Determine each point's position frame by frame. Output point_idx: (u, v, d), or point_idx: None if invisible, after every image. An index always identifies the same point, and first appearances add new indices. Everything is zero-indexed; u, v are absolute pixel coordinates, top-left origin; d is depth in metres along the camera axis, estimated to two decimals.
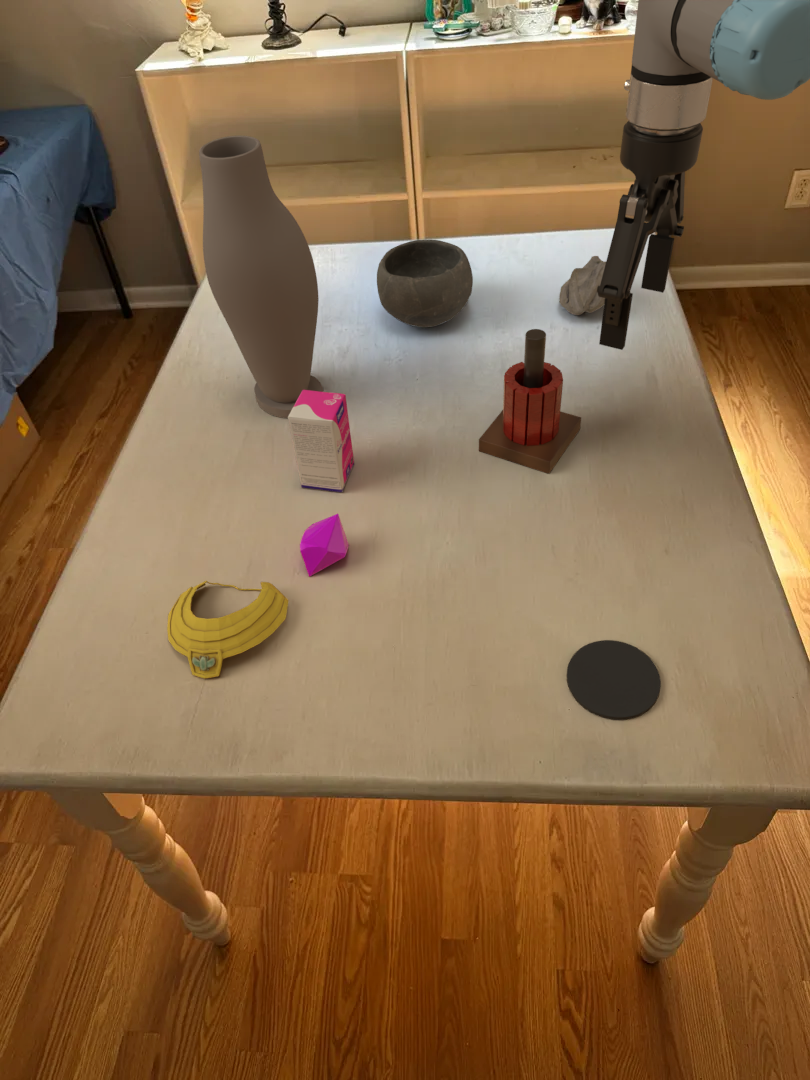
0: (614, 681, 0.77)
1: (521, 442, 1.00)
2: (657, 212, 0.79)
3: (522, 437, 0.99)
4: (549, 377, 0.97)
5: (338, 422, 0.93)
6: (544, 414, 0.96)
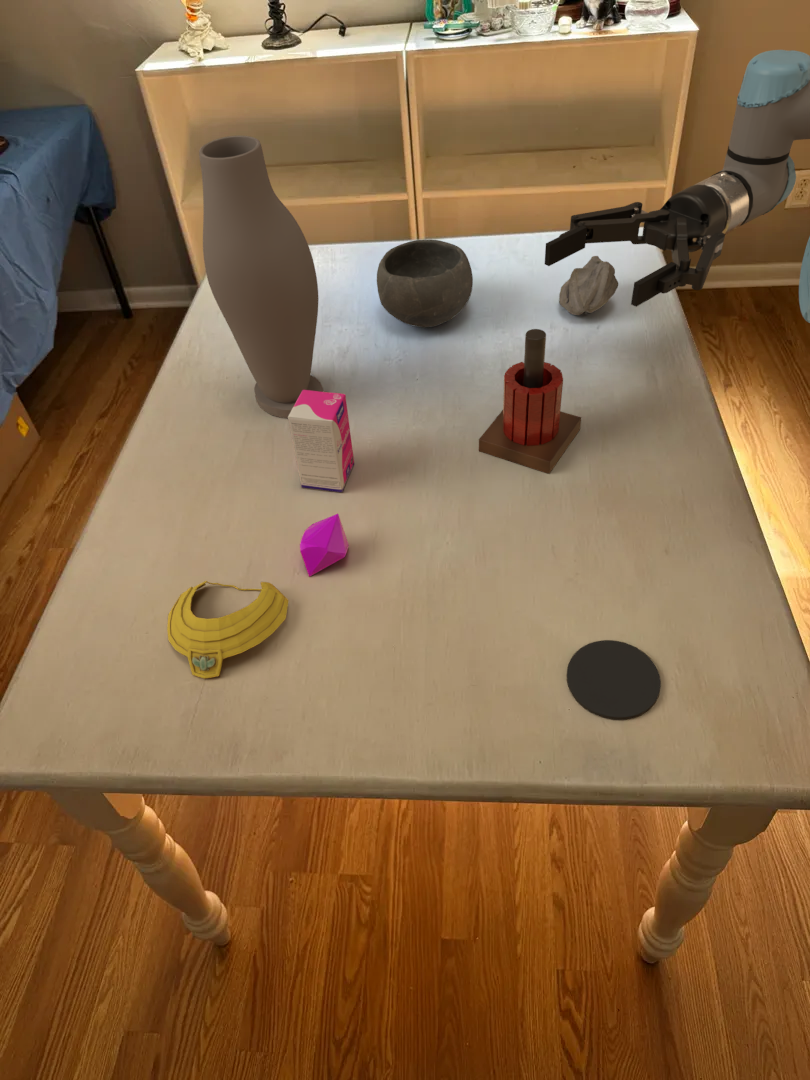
0: (614, 681, 0.77)
1: (521, 442, 1.00)
2: None
3: (522, 437, 0.99)
4: (549, 377, 0.97)
5: (338, 422, 0.93)
6: (544, 414, 0.96)
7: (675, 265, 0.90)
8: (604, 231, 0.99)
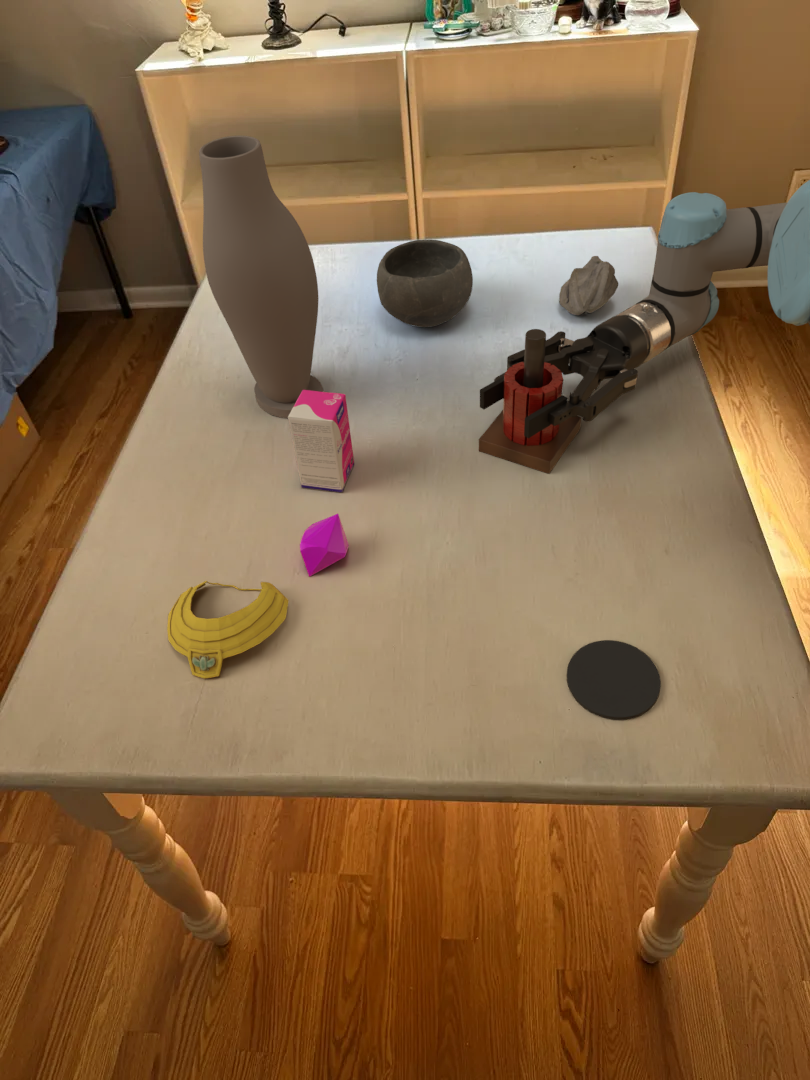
0: (614, 681, 0.77)
1: (521, 442, 1.00)
2: (600, 382, 1.02)
3: (522, 437, 0.99)
4: (549, 377, 0.97)
5: (338, 422, 0.93)
6: None
7: (566, 399, 0.96)
8: None
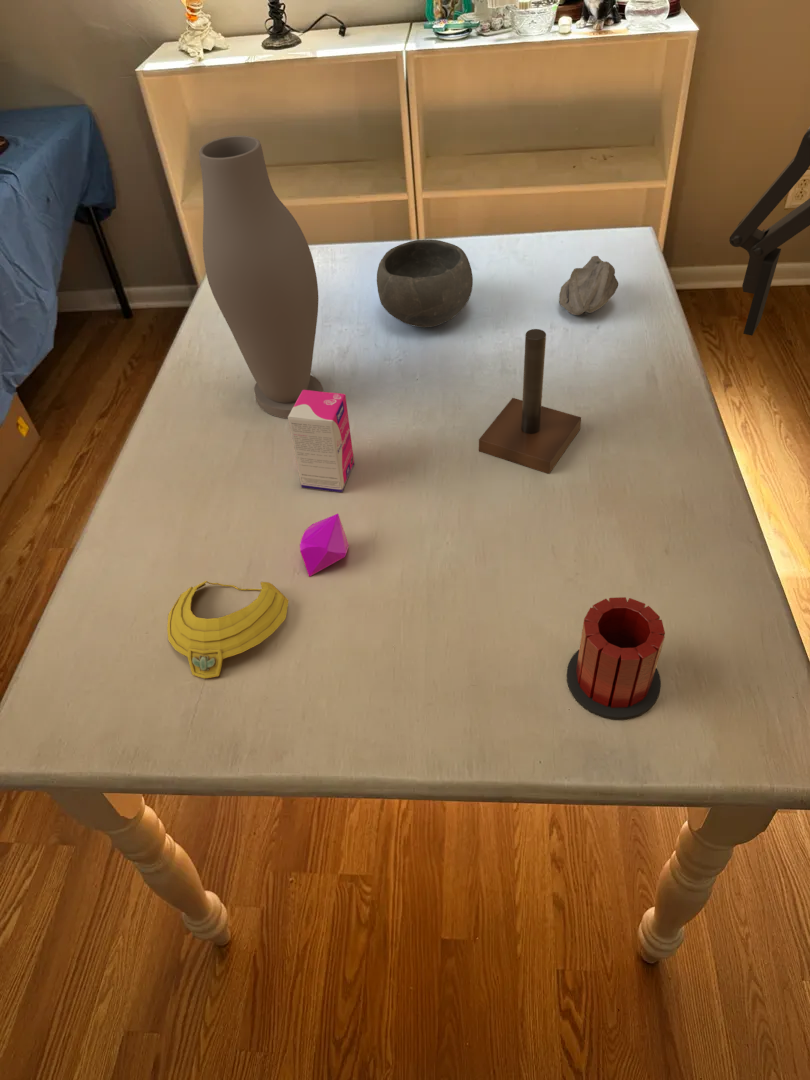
0: None
1: (604, 703, 0.75)
2: None
3: (606, 699, 0.74)
4: (644, 624, 0.72)
5: (338, 422, 0.93)
6: (639, 678, 0.71)
7: None
8: None
